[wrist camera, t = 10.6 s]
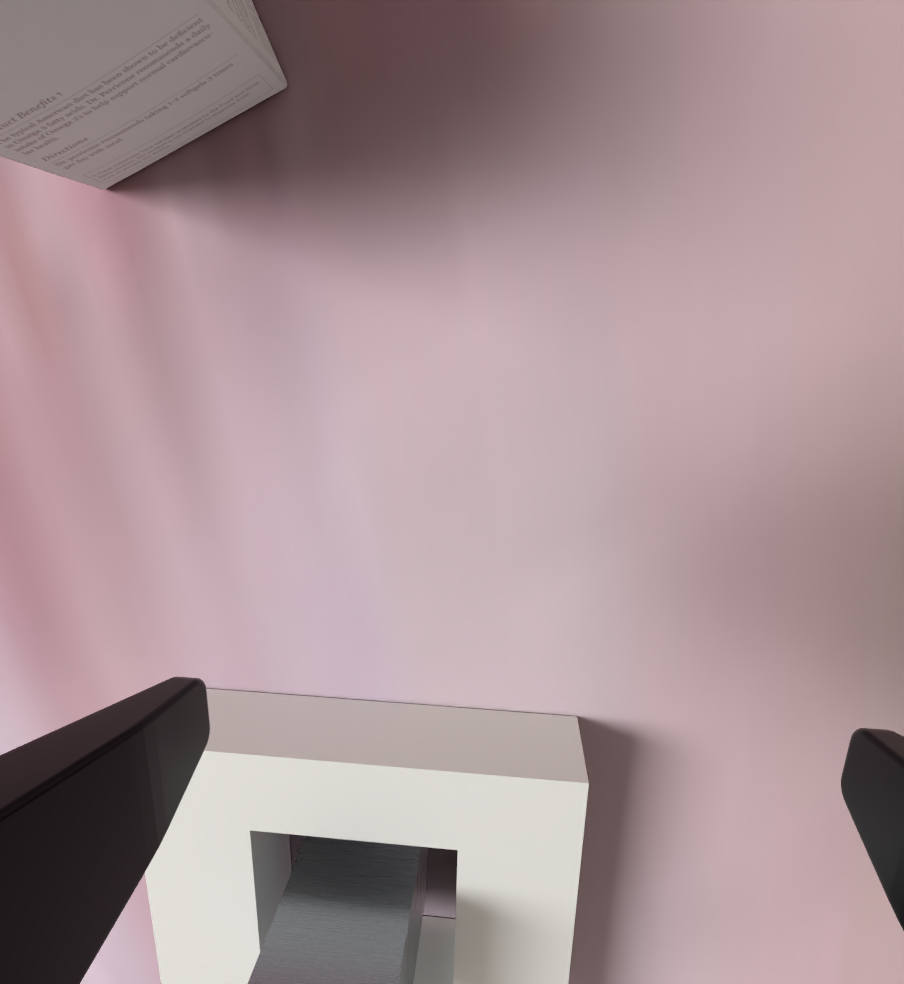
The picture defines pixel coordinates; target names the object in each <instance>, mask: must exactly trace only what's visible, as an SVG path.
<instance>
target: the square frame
mask: <svg viewBox="0 0 904 984" xmlns="http://www.w3.org/2000/svg"><path fill="white" fill-rule="evenodd" d="M206 691H207V701H208V711H209V721H210V735H209V739H208V743H207V745H206V748H205V750H204V752H203V754H202V756H201V759H200V761H199V763H198V765H197V767H196V769H195V772H194V774H193V776H192V778H191V780H190V782H189V785H188V787H187V789H186V791H185V793H184V795H183V798H182V800H181V802H180V804H179V806H178V808H177V811H176V813H175V815H174V817H173V819H172V821H171V824H170V826H169V828H168V830H167V832H166V834H165V836H164V838H163V840H162V842H161V844H160V846H159V848H158V850H157V852H156V853H155V855H154V857H153V859H152V861H151V862H150V864H149V866H148V868H147V869H146V871H145V876H146V883H147V890H148V897H149V904H150V911H151V918H152V924H153V931H154V938H155V945H156V952H157V959H158V965H159V972H160V979H161V984H248V981H249V979H250V976H251V974H252V971H253V969H254V966H255V964H256V961H257V959H258V956H259V954H260V951H261V949H262V946H263V944H264V941H265V939H266V936H267V933H268V931H269V928H270V926H271V923H272V921H273V918H274V916H275V913H276V911H277V908H278V906H279V903H280V901H281V898H282V896H283V893H284V891H285V888H286V886H287V883H288V881H289V878H290V876H291V873H292V870H291V854H290V838H289V834H293V835H303V836H314V837H324V838H335V839H345V840H356V841H366V842H377V843H387V844H398V845H408V846H419V847H429V848H440V849H450V850H458V854H457V885H456V916H455V919H449V918H440V917H430V916H423V919H422V926H421V933H420V939H419V946H418V953H417V960H416V967H415V974H414V981H413V984H568V982H569V972H570V962H571V953H572V943H573V933H574V923H575V914H576V904H577V894H578V884H579V875H580V865H581V855H582V845H583V836H584V826H585V816H586V806H587V797H588V787H589V781H588V776H587V770H586V764H585V759H584V753H583V748H582V742H581V736H580V731H579V725H578V720H577V717H576V716H563V715H550V714H537V713H524V712H510V711H497V710H484V709H471V708H458V707H444V706H431V705H418V704H405V703H392V702H378V701H365V700H352V699H339V698H326V697H313V696H299V695H286V694H273V693H260V692H247V691H233V690H220V689H207V688H206Z"/></svg>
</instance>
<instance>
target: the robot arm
mask: <svg viewBox="0 0 904 984" xmlns="http://www.w3.org/2000/svg"><path fill="white" fill-rule="evenodd" d="M209 735H210V721H209V711H208V701H207V691H206V686H205V683H204V682H203V681H202V680H201V679H199V678H187V677H173V678H170V679H168V680H166V681H164V682H161V683H159V684H157V685H155V686H153V687H150V688H148V689H146V690H144V691H142V692H139V693H137V694H135V695H133V696H130V697H128V698H126V699H124V700H122V701H119V702H117V703H115V704H113V705H111V706H108V707H106V708H104V709H102V710H100V711H97V712H95V713H93V714H91V715H88V716H86V717H84V718H82V719H80V720H77V721H75V722H73V723H71V724H69V725H66V726H64V727H62V728H60V729H58V730H55V731H53V732H51V733H49V734H46V735H44V736H42V737H40V738H38V739H35V740H33V741H31V742H29V743H27V744H24V745H22V746H20V747H18V748H16V749H13V750H11V751H9V752H7V753H4V754H2V755H0V984H80V982H81V981H82V979H83V977H84V975H85V974H86V972H87V970H88V969H89V967H90V965H91V964H92V962H93V960H94V958H95V957H96V955H97V953H98V952H99V950H100V948H101V946H102V945H103V943H104V941H105V940H106V938H107V936H108V934H109V933H110V931H111V929H112V928H113V926H114V924H115V922H116V921H117V919H118V917H119V916H120V914H121V912H122V910H123V909H124V907H125V905H126V904H127V902H128V900H129V898H130V897H131V895H132V893H133V892H134V890H135V888H136V886H137V885H138V883H139V881H140V880H141V878H142V876H143V874H144V873H145V871H146V869H147V868H148V866H149V864H150V862H151V861H152V859H153V857H154V855H155V853H156V852H157V850H158V848H159V846H160V844H161V842H162V840H163V838H164V836H165V834H166V832H167V830H168V828H169V826H170V824H171V821H172V819H173V817H174V815H175V813H176V811H177V808H178V806H179V804H180V802H181V800H182V798H183V795H184V793H185V791H186V789H187V787H188V785H189V782H190V780H191V778H192V776H193V774H194V772H195V769H196V767H197V765H198V763H199V761H200V759H201V756H202V754H203V752H204V750H205V748H206V745H207V743H208V739H209ZM841 789H842V794H843V798H844V800H845V803H846V805H847V807H848V810H849V812H850V814H851V816H852V819H853V821H854V823H855V825H856V828H857V830H858V832H859V834H860V837H861V839H862V841H863V843H864V846H865V848H866V850H867V852H868V855H869V857H870V859H871V862H872V864H873V866H874V868H875V871H876V873H877V875H878V877H879V880H880V882H881V884H882V886H883V889H884V891H885V893H886V895H887V898H888V900H889V902H890V904H891V906H892V908H893V910H894V912H895V915H896V917H897V919H898V921H899V923H900V924H901V926H902V928H903V930H904V737H903V736H901V735H899V734H897V733H895V732H893V731H890V730H881V729H867V728H860V729H858V730H856V731H855V732H854V733H853V734H852V737H851V740H850V744H849V748H848V752H847V756H846V761H845V765H844V769H843V773H842V778H841Z"/></svg>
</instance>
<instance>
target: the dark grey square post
mask: <svg viewBox="0 0 904 984" xmlns="http://www.w3.org/2000/svg"><path fill="white" fill-rule="evenodd" d="M426 891H427V847H419V846H408V845H398V844H387V843H377V842H366V841H356V840H345V839H335V838H324V837H314V836H306V838H305V840H304V843H303V845H302V848H301V850H300V853H299V855H298V858H297V860H296V863H295V865H294V868H293V870H292V873H291V876H290V878H289V881H288V883H287V886H286V888H285V891H284V893H283V896H282V898H281V901H280V903H279V906H278V908H277V911H276V913H275V916H274V918H273V921H272V923H271V926H270V928H269V931H268V933H267V936H266V939H265V941H264V944H263V946H262V949H261V951H260V954H259V956H258V959H257V961H256V964H255V966H254V969H253V971H252V974H251V976H250V979H249V981H248V984H413V981H414V974H415V967H416V960H417V953H418V946H419V939H420V933H421V926H422V919H423V912H424V905H425V898H426Z"/></svg>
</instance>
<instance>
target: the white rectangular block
mask: <svg viewBox="0 0 904 984" xmlns="http://www.w3.org/2000/svg"><path fill="white" fill-rule="evenodd" d="M286 87H287V82H286V79H285V77H284V74H283V72H282V70H281V68H280V65H279V63H278V61H277V58H276V56H275V54H274V51H273V49H272V46H271V44H270V41H269V39H268V37H267V35H266V33H265V30H264V28H263V26H262V23H261V21H260V19H259V16H258V14H257V12H256V10H255V7H254V5H253V2H252V0H0V156H1V157H4V158H7V159H10V160H13V161H16V162H19V163H23V164H26V165H29V166H32V167H35V168H38V169H41V170H43V171H46V172H49V173H52V174H56V175H59V176H62V177H65V178H68V179H71V180H74V181H77V182H80V183H84V184H87V185H90V186H93V187H96V188H98V189H102V190H104V189H107V188H108V187H110V186H112V185H114V184H115V183H117V182H119V181H121V180H123V179H125V178H126V177H128V176H130V175H132V174H134V173H136V172H138V171H139V170H141V169H143V168H145V167H146V166H148V165H150V164H152V163H153V162H155V161H157V160H159V159H161V158H162V157H164V156H166V155H168V154H169V153H171V152H173V151H175V150H177V149H178V148H180V147H182V146H184V145H185V144H187V143H189V142H191V141H192V140H194V139H196V138H198V137H200V136H201V135H203V134H205V133H207V132H208V131H210V130H212V129H214V128H216V127H217V126H219V125H221V124H223V123H224V122H226V121H228V120H230V119H231V118H233V117H235V116H237V115H239V114H240V113H242V112H244V111H246V110H247V109H249V108H251V107H253V106H254V105H256V104H258V103H260V102H261V101H263V100H265V99H267V98H269V97H270V96H272V95H274V94H276V93H278V92H279V91H281V90H283V89H285V88H286Z"/></svg>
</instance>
